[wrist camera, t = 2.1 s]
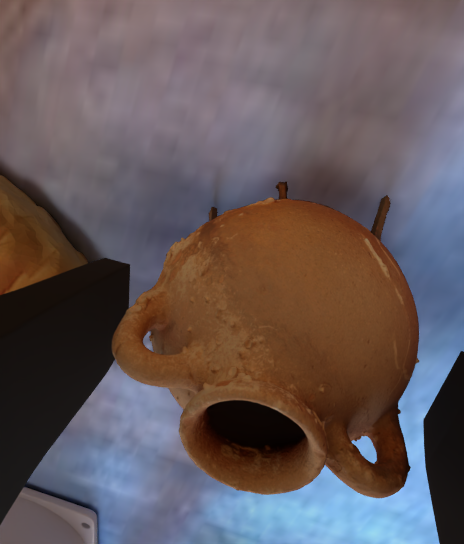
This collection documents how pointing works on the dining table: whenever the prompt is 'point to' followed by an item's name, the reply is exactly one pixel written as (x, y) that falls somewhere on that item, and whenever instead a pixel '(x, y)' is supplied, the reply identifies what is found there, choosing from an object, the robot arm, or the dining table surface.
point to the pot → (281, 346)
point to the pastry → (30, 242)
